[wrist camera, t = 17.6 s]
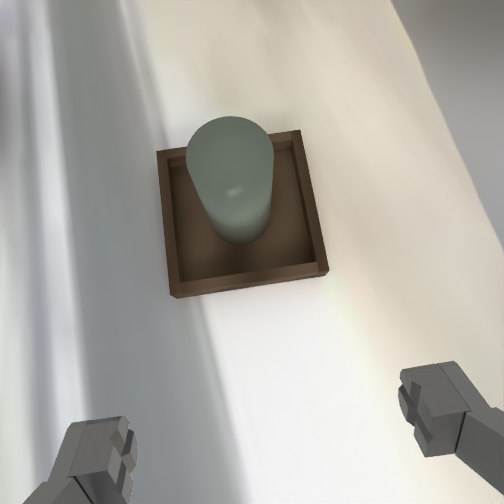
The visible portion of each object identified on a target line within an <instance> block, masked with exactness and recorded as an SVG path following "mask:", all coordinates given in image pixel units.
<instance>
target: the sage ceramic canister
mask: <svg viewBox="0 0 504 504" xmlns="http://www.w3.org/2000/svg"><path fill="white" fill-rule="evenodd" d="M273 162H274V150H273V146H272V142H271V140H270V138H269V136H268V135H267V133H266V132H265V131H264V130H263V129H262V128H261V127H260V126H259V125H257V124H256V123H254V122H252V121H250V120H248V119H245V118H241V117H232V116H229V117H221V118H217V119H214V120H212V121H210V122H208V123H206V124H204V125H203V126H202V127H200V128H199V129H198V130H197V131H196V132H195V134H194V135H193V136H192V138H191V140H190V141H189V144H188V147H187V151H186V164H187V168H188V171H189V174H190V176H191V178H192V181H193V183H194V186H195V188H196V190H197V193H198V195H199V197H200V200H201V202H202V205H203V207H204V209H205V212H206V214H207V217H208V219H209V221H210V224H211V226H212V228H213V230H214V232H215V233H216V234H217V235H218V236H219V237H220V238H221V239H222V240H224V241H226V242H228V243H231V244H236V245H242V244H248V243H251V242H253V241H255V240H257V239H258V238H260V237H261V236H262V235H263V234H264V232H265V231H266V229H267V227H268V225H269V222H270V212H271V196H272V179H273Z"/></svg>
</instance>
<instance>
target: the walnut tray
mask: <svg viewBox="0 0 504 504" xmlns="http://www.w3.org/2000/svg"><path fill="white" fill-rule="evenodd" d="M268 136H269V138H270V140H271V142H272V146H273V150H274V162H273V179H272V196H271V212H270V222H269V225H268V227H267V229H266V231H265V232H264V234H263V235H262V236H261V237H260V238H258V239H257V240H255V241H253V242H251V243H248V244H242V245H236V244H231V243H228V242H226V241H224V240H222V239H221V238H220V237H219V236H218V235H217V234H216V233H215V232H214V230H213V228H212V226H211V224H210V221H209V219H208V217H207V214H206V212H205V209H204V207H203V205H202V202H201V200H200V197H199V195H198V193H197V190H196V188H195V186H194V183H193V181H192V178H191V176H190V174H189V171H188V168H187V164H186V151H187V147H188V146H187V147H181V148H174V149H167V150H161V151H156V153H157V163H158V173H159V184H160V194H161V204H162V215H163V225H164V235H165V246H166V256H167V266H168V277H169V287H170V295H171V296H173V297H175V298H177V299H178V298H184V297H191V296H197V295H204V294H210V293H216V292H223V291H229V290H236V289H242V288H249V287H255V286H262V285H268V284H275V283H281V282H288V281H294V280H301V279H307V278H314V277H320V276H325V275H326V274H327V273H328V271H329V266H328V261H327V256H326V251H325V247H324V242H323V237H322V232H321V227H320V222H319V218H318V213H317V208H316V203H315V198H314V193H313V189H312V184H311V179H310V174H309V169H308V164H307V160H306V155H305V150H304V145H303V140H302V135H301V131H300V130H294V131H288V132H281V133H274V134H268Z"/></svg>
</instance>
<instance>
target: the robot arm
mask: <svg viewBox="0 0 504 504" xmlns="http://www.w3.org/2000/svg"><path fill="white" fill-rule="evenodd" d="M400 380H401V382H402V383H403V384H402V385H401V386H400V387H399V389H398V398H399V404H400V407H401V410H402V413H403V415H404V417H405V419H406V421H407V422H409V423H410V424H411V425H413V426H414V427H415V429H414V437H415V439H416V441H417V443H418V445H419V447H420V449H421V451H422V453H423V455H424V457H433V456H440V455H447V454H455V453H456V454H455V455H456V456H457V457H458V458H459V459H460V460H462V461H463V462H464V463H465V464H467V465H468V466H469V467H470V468H471V469H473V470H474V471H475V472H476V473H477V474H479V475H480V476H481V477H482V478H483V479H485V480H486V481H487V482H488V483H489V484H491V485H492V486H493V487H494V488H495V489H497V490H498V491H499V492H500V493H501V494H503V495H504V412H503V411H502V410H500V409H498V408H497V407H495V408H491V407H490V406H489V405H488V403H487V402H486V401H485V399H484V398H483V397H482V395H481V394H480V393H479V392H478V390H477V389H476V388H475V386H474V385H473V384H472V382H471V381H470V380H469V378H468V377H467V376H466V374H465V373H464V372H463V370H462V369H461V368H460V366H459V365H458V364H457V363H456V362H454V361H449V362H443V363H437V364H429V365H423V366H418V367H412V368H407V369H402V371H401V372H400ZM128 427H129V420H128V419H127V417H126V415H124V416H117V417H109V418H102V419H95V420H87V421H81V422H74V423H72V424H71V425H70V426H69V427H68V429H67V431H66V434H65V436H64V439H63V442H62V445H61V447H60V450H59V453H58V455H57V458H56V461H55V463H54V466H53V469H52V471H51V474H50V477H49V479H48V481H46V482H42V483H41V484H40V485H39V486H38V488H37V489H36V490H35V491H34V492H33V493H32V494H31V495H30V496H29V497H28V498H27V499H26V500H25V502H24V503H23V504H130V498H131V493H132V487H133V480H132V478H131V476H130V473H131V472H132V471H133V469H134V468H135V467H136V465H137V459H138V442H137V437H136V435H135V433H134V431H132V430H130V429H128Z"/></svg>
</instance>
